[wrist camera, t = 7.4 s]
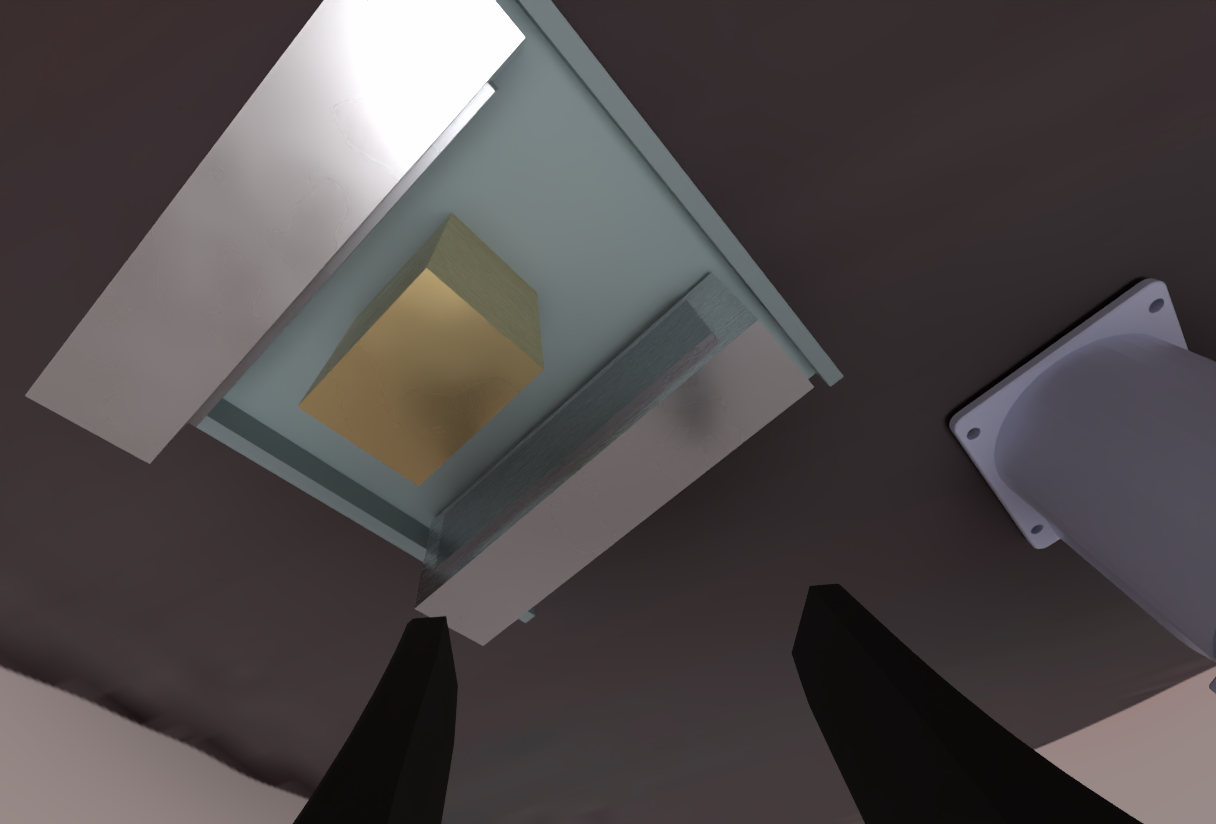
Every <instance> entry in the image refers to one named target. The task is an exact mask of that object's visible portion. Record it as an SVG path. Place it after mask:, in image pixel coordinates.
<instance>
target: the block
mask: <svg viewBox="0 0 1216 824" xmlns="http://www.w3.org/2000/svg"><path fill="white" fill-rule="evenodd" d="M543 370H544V363H543V352H542V342H541V331H540V320H539V309H538V298H537V292H536V291H535V290H534V289H533V288H532V287H531V286H530V285H529V284H528V283H527V282H526V281H524V280H523V279H522V278H521V277H520V276H519V275H518V274H517V273H516V272H515V271H514V270H513V269H512V268H511V267H510V266H508V265H507V264H506V263H505V262H504V261H503V260H502V259H501V258H500V257H499V256H498V255H497V254H496V253H495V252H494V251H493V250H491V249H490V248H489V247H488V246H487V245H486V244H485V243H484V242H483V241H482V240H481V239H480V238H479V237H478V236H477V235H476V234H474V233H473V232H472V231H471V230H470V229H469V228H468V227H467V226H466V225H465V224H464V223H463V222H462V221H461V220H460V219H459V218H457V217H456V216H455V215H454V214H453V213H452V214H451V215H450V216H449V217H448V218H447V219H446V220H445V221H444V222H443V223H442V224H441V226H440V227H439V228H438V229H437V230H436V231H435V232H434V233H433V234H432V235H431V237H430V238H429V239H428V240H427V241H426V242H425V243H424V244H423V245H422V246H421V247H420V249H419V250H418V251H417V252H416V253H415V254H414V255H413V256H412V257H411V258H410V260H409V261H408V262H407V263H406V264H405V265H404V266H403V267H402V268H401V269H400V270H399V272H398V273H397V274H396V275H395V276H394V277H393V278H392V279H391V280H390V281H389V282H388V284H387V285H386V286H385V287H384V288H383V289H382V290H381V291H380V292H379V293H378V295H377V296H376V297H375V298H374V299H373V300H372V301H371V302H370V303H369V304H368V305H367V307H366V308H365V309H364V310H363V311H362V312H361V313H360V314H359V315H358V316H357V317H356V319H355V320H354V322H353V323H352V325H351V326H350V328H349V329H348V331H347V332H346V334H345V335H344V337H343V338H342V340H341V341H340V343H339V344H338V346H337V348H336V349H335V351H334V352H333V354H332V355H331V357H330V358H329V360H328V361H327V363H326V364H325V366H324V367H323V369H322V370H321V372H320V373H319V375H318V376H317V378H316V379H315V381H314V382H313V384H312V385H311V387H310V388H309V390H308V391H307V393H306V394H305V396H304V397H303V399H302V400H301V402H300V403H299V405H298V406H297V407H298V408H300V409H301V410H303V411H304V412H306V413H307V414H309V415H311V416H312V417H314V418H315V419H317V420H318V421H320V422H321V423H323V424H324V425H326V426H327V427H329V428H330V429H332V430H333V431H335V432H337V433H338V434H340V435H341V436H343V437H344V438H346V439H347V440H349V441H350V442H352V443H353V444H355V445H356V446H358V447H359V448H361V449H362V450H364V451H366V452H367V453H369V454H370V455H372V456H373V457H375V458H376V459H378V460H379V461H381V462H382V463H384V464H385V465H387V466H388V467H390V468H392V469H393V470H395V471H396V472H398V473H399V474H401V475H402V476H404V477H405V478H407V479H408V480H410V481H411V482H413V483H414V484H416V485H417V486H420V485H421V484H422V483H423V482H424V481H425V480H426V479H428V478H429V477H430V476H431V475H432V474H433V473H434V472H435V471H436V470H437V469H438V468H439V467H440V466H441V465H443V464H444V463H445V462H446V461H447V460H448V459H449V458H450V457H451V456H452V455H453V454H454V453H455V452H456V451H458V450H459V449H460V448H461V447H462V446H463V445H464V444H465V443H466V442H467V441H468V440H469V439H470V438H471V437H472V436H474V435H475V434H476V433H477V432H478V431H479V430H480V429H481V428H482V427H483V426H484V425H485V424H486V423H487V422H489V421H490V420H491V419H492V418H493V417H494V416H495V415H496V414H497V413H498V412H499V411H500V410H501V409H502V408H504V407H505V406H506V405H507V404H508V403H509V402H510V401H511V400H512V399H513V398H514V397H515V396H516V395H517V394H519V393H520V392H521V391H522V390H523V389H524V388H525V387H526V386H527V385H528V384H529V383H530V382H531V381H532V380H533V379H535V378H536V377H537V376H538V375H539V374H540V373H541V372H542V371H543Z"/></svg>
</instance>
